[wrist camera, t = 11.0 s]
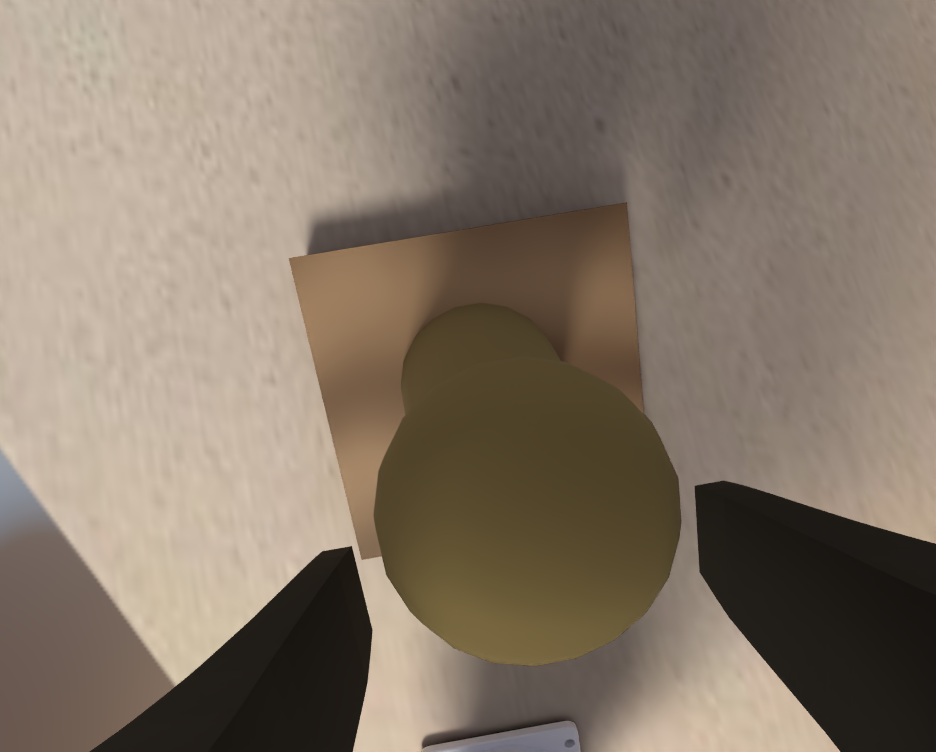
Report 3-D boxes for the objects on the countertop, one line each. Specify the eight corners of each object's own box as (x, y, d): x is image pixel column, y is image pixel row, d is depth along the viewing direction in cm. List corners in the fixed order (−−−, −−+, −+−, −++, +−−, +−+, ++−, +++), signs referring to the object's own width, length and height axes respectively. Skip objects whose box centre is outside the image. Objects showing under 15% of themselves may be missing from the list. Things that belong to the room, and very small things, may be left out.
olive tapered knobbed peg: (426, 281, 16) (392, 288, 5) (583, 330, 17) (826, 424, 6) (382, 435, 17) (281, 692, 7) (530, 476, 18) (658, 769, 7)
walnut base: (631, 486, 21) (651, 508, 19) (369, 532, 20) (361, 559, 18) (606, 210, 18) (626, 202, 16) (305, 260, 18) (288, 258, 16)
